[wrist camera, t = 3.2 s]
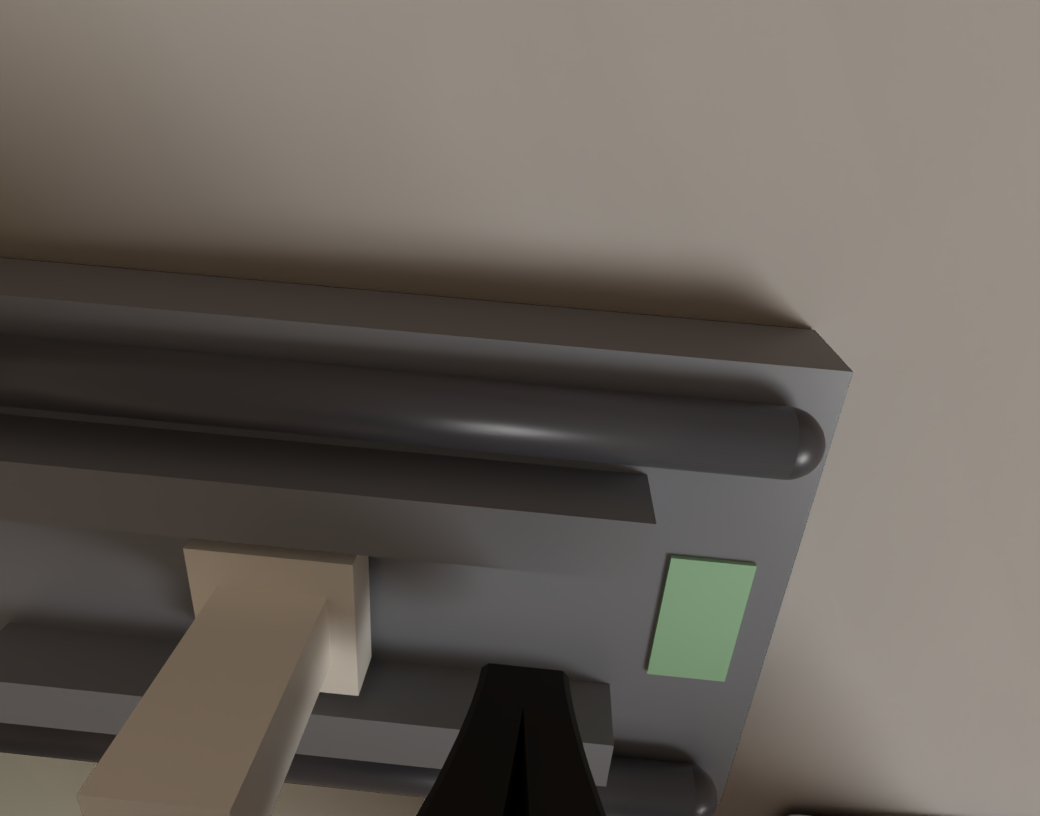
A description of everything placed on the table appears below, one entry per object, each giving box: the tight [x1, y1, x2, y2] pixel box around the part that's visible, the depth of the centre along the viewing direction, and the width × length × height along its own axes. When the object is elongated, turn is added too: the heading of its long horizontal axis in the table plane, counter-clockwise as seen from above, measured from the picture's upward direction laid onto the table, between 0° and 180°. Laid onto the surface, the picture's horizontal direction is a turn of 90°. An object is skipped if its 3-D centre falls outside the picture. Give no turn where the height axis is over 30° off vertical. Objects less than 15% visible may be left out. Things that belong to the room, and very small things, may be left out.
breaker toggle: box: [77, 539, 372, 816], centre depth 12 cm, size 3×3×5 cm
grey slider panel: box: [0, 258, 853, 816], centre depth 14 cm, size 11×19×4 cm, turn 86°
